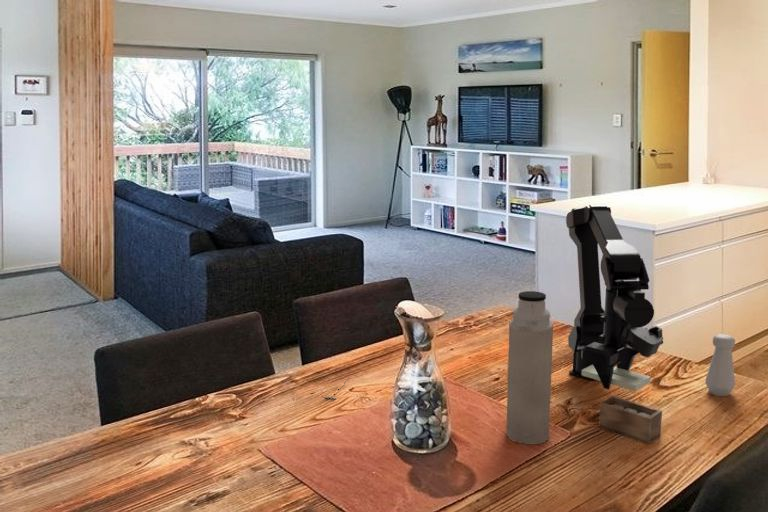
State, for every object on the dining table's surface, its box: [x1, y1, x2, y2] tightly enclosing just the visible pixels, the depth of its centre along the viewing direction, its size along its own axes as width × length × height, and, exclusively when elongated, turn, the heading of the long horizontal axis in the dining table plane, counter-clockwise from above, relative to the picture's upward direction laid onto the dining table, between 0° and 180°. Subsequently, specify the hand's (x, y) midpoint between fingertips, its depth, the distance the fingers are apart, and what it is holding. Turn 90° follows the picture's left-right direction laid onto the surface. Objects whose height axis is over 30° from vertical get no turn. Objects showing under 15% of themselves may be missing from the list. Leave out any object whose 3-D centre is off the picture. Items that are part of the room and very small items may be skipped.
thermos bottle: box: [506, 290, 554, 445], centre depth 130 cm, size 8×8×28 cm
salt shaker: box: [705, 333, 736, 397], centre depth 150 cm, size 6×6×13 cm
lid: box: [581, 365, 652, 392], centre depth 144 cm, size 12×6×2 cm, turn 44°
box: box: [598, 395, 663, 445], centre depth 133 cm, size 10×5×5 cm, turn 44°
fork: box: [321, 395, 336, 400], centre depth 155 cm, size 3×16×2 cm, turn 166°
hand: (614, 384), depth 144 cm, fingers closed on lid, 6 cm apart
